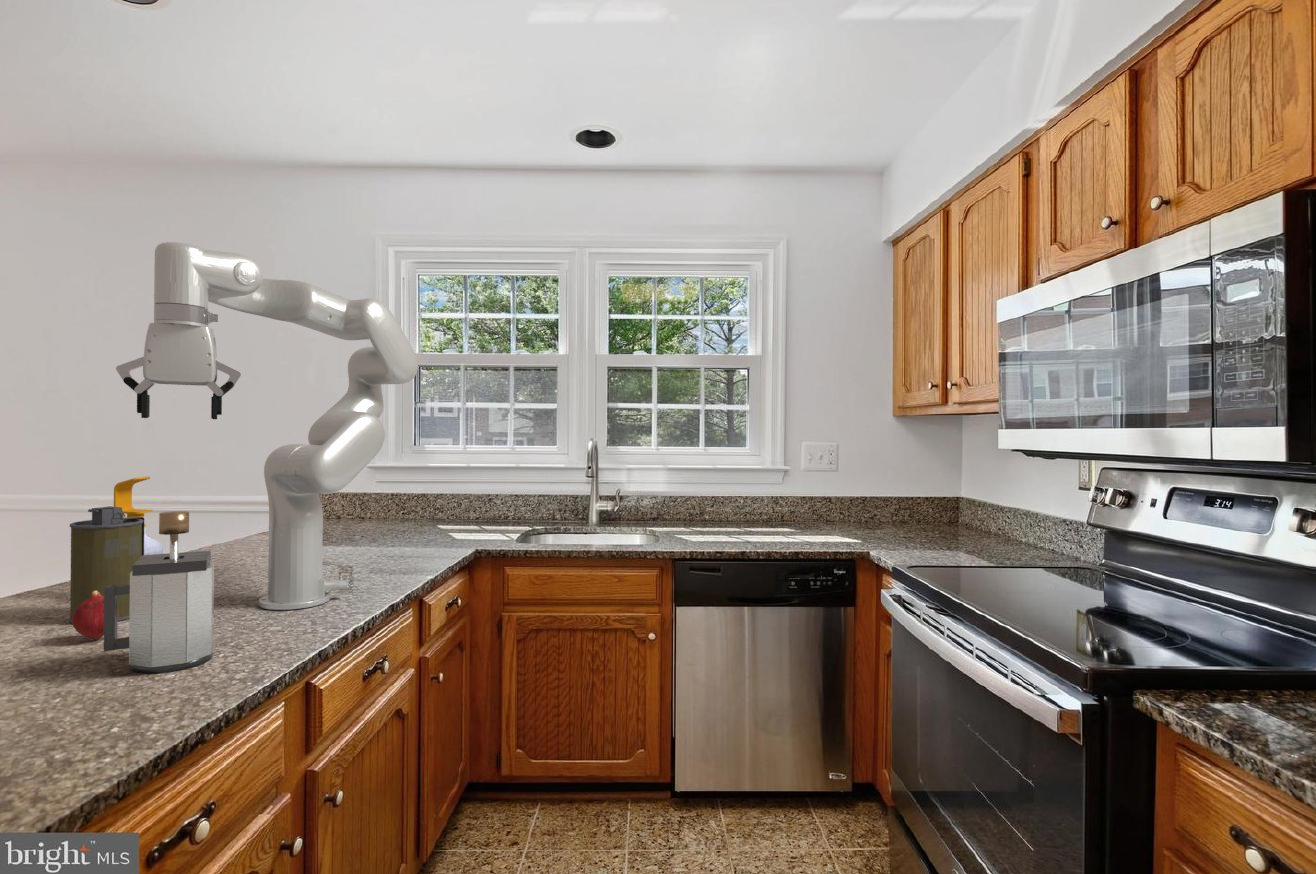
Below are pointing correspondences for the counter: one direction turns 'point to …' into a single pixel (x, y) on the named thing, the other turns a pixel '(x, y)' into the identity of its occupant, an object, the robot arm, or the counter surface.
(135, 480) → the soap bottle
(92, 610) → the onion
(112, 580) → the canister
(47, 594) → the counter surface
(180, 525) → the plunger
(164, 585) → the french press
